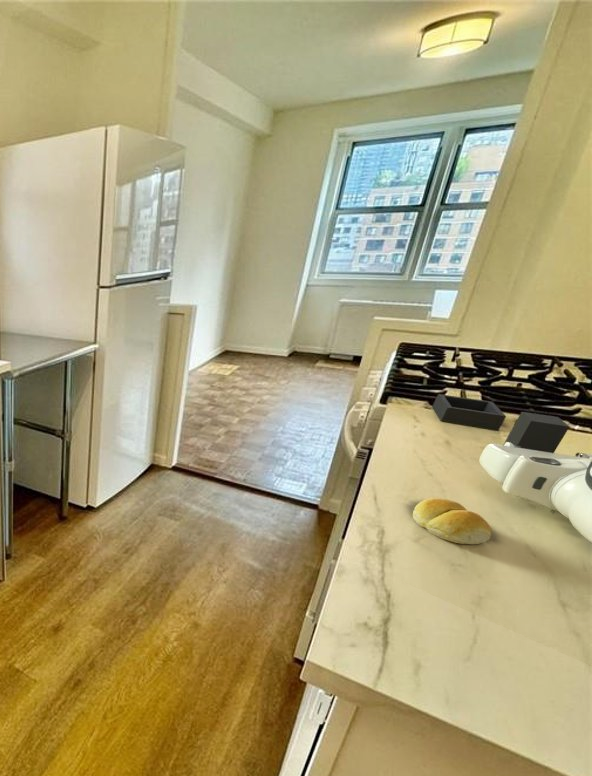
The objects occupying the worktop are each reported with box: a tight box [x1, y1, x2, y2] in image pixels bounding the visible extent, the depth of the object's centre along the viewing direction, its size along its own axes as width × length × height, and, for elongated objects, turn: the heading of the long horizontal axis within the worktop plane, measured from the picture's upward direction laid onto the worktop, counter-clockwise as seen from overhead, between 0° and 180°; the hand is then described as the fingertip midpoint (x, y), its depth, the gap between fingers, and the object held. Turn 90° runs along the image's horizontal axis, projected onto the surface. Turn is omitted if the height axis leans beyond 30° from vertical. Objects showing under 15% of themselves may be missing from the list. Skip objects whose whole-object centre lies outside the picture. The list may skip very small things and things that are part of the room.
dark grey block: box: [502, 411, 570, 453], centre depth 89 cm, size 5×5×10 cm
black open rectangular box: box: [432, 393, 507, 431], centre depth 112 cm, size 10×10×4 cm
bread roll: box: [412, 497, 492, 545], centre depth 74 cm, size 8×9×4 cm
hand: (543, 451), depth 86 cm, fingers open, 8 cm apart
